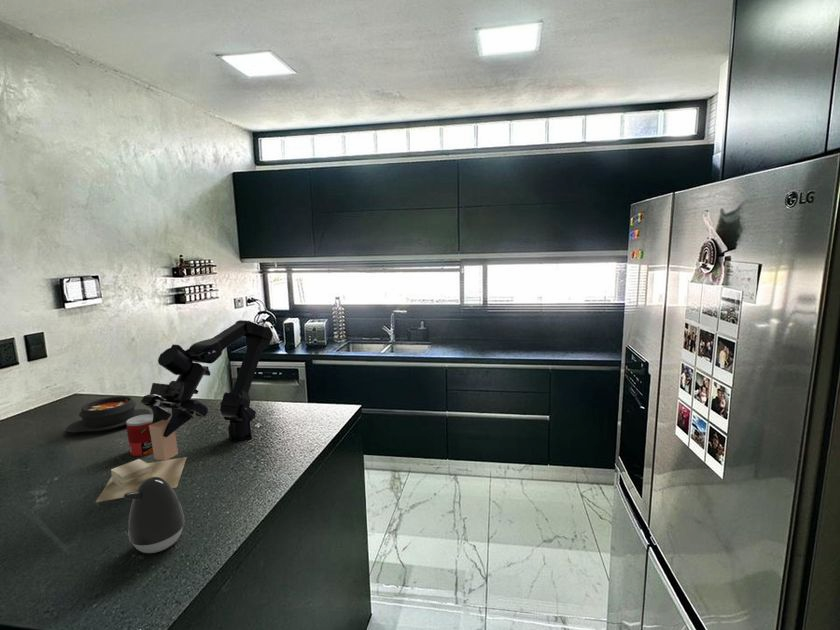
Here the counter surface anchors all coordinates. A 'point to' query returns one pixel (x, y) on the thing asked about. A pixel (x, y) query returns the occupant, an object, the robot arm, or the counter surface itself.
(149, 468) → the slab top
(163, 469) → the beige square cloth
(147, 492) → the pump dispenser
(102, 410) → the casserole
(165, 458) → the post
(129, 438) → the canned food
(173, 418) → the robot arm
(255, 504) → the counter surface
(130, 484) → the slab bottom
